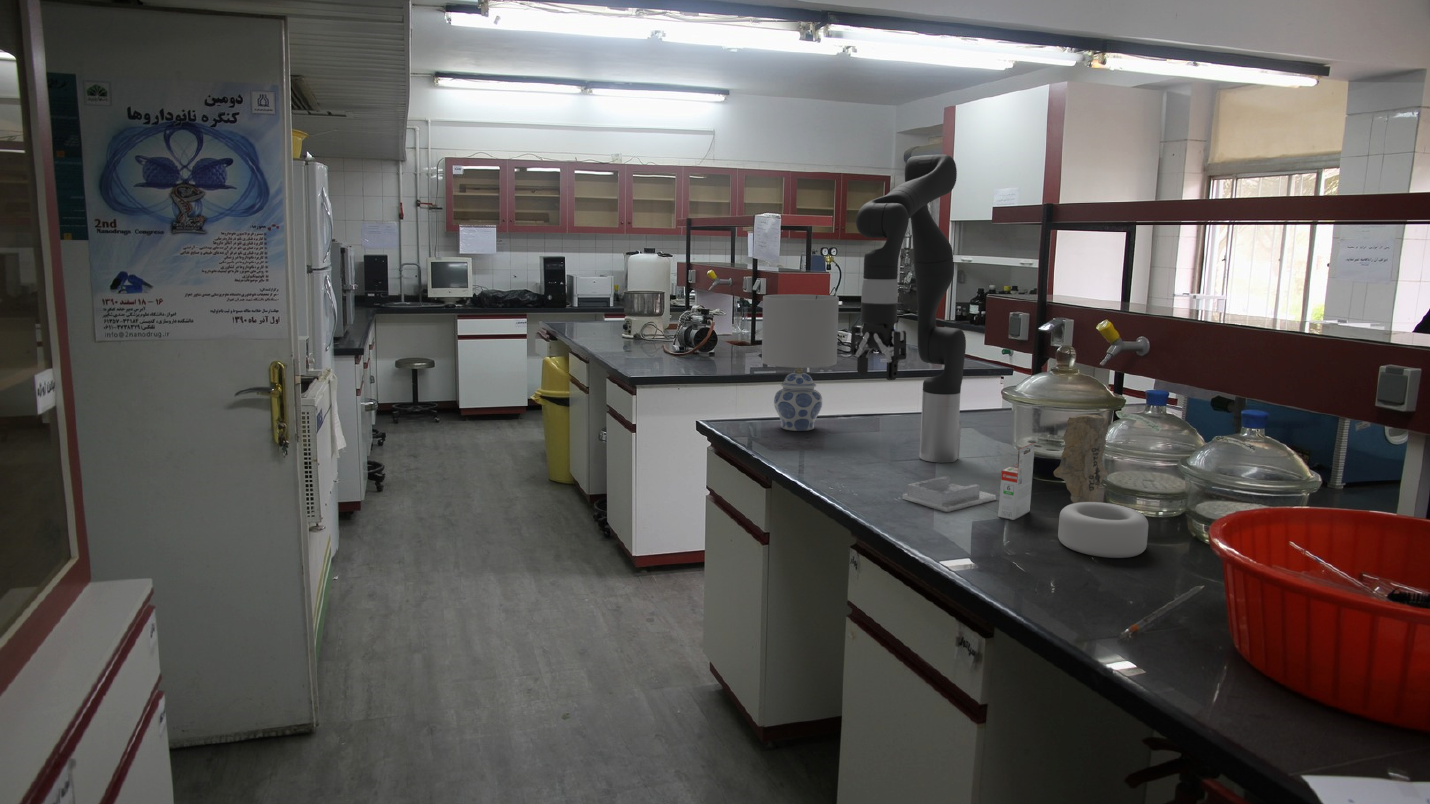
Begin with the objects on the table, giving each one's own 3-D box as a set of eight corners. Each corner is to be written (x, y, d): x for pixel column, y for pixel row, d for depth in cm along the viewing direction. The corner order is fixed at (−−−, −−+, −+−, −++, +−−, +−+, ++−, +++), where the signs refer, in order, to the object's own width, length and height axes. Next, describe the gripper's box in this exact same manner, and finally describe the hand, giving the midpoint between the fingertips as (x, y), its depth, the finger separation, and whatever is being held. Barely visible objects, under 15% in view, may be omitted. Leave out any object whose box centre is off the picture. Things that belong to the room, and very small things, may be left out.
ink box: (997, 517, 188) (1001, 446, 186) (1013, 508, 194) (1017, 439, 192) (1014, 521, 186) (1019, 449, 183) (1030, 512, 192) (1035, 442, 189)
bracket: (951, 487, 210) (952, 472, 210) (995, 499, 201) (996, 483, 200) (902, 498, 201) (903, 482, 200) (946, 512, 191) (947, 495, 191)
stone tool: (1099, 503, 198) (1107, 410, 195) (1114, 511, 193) (1122, 416, 189) (1044, 505, 197) (1051, 411, 194) (1057, 513, 191) (1064, 416, 188)
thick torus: (1139, 566, 162) (1142, 528, 160) (1049, 550, 169) (1051, 514, 168) (1151, 542, 174) (1154, 507, 173) (1067, 528, 182) (1069, 495, 181)
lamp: (838, 436, 263) (843, 299, 256) (761, 435, 263) (764, 299, 256) (830, 421, 284) (834, 294, 277) (759, 420, 284) (761, 294, 278)
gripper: (917, 302, 193) (913, 380, 196) (868, 298, 204) (866, 371, 207) (891, 303, 188) (887, 383, 191) (843, 299, 200) (840, 374, 203)
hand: (876, 377), depth 199 cm, fingers open, 8 cm apart
